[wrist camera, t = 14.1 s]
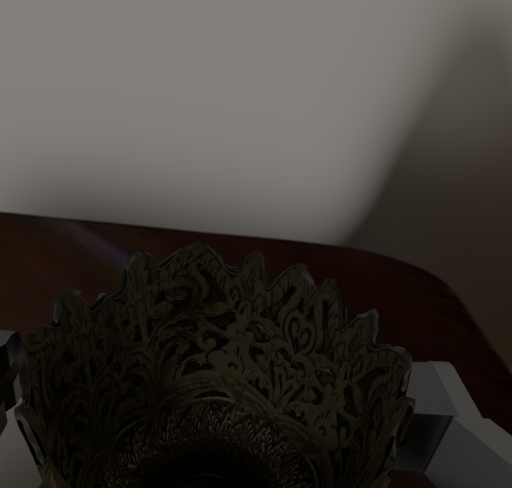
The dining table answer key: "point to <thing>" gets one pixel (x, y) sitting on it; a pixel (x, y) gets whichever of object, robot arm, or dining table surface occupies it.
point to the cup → (212, 382)
